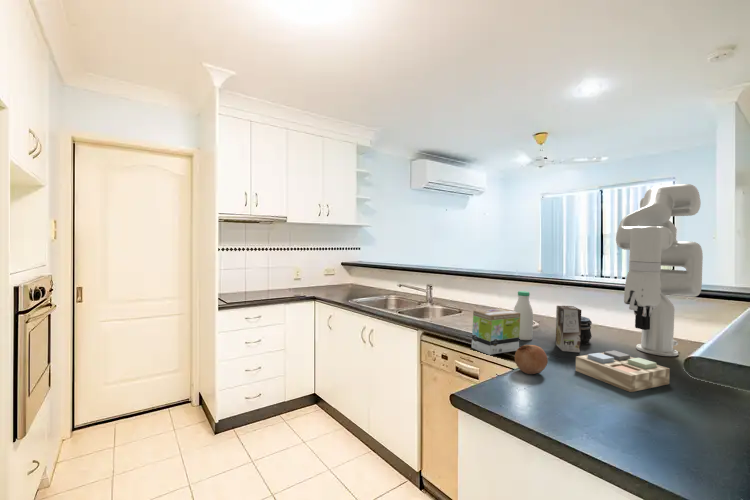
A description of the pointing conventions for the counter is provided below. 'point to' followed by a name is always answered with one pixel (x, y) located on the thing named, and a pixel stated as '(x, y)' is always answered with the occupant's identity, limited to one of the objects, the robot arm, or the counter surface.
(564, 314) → the coffee box
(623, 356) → the key charcoal
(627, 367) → the key terracotta
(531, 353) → the onion
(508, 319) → the tea box
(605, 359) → the key pale blue
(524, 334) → the milk bottle
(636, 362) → the key sage
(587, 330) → the container
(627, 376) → the wooden puzzle board
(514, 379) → the counter surface
